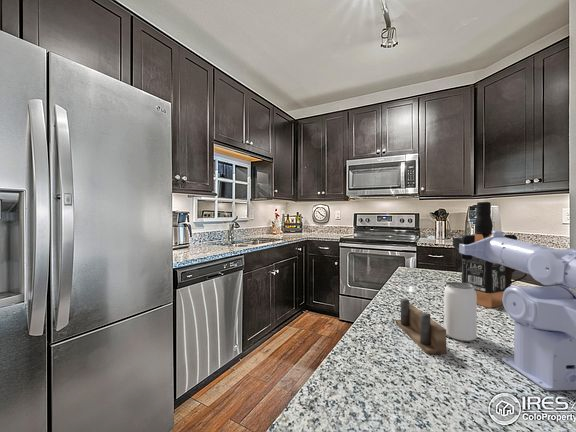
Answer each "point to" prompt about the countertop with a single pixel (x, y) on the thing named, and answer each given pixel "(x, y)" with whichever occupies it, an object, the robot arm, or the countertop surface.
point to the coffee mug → (509, 276)
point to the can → (460, 311)
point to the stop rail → (422, 329)
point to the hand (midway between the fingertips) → (469, 241)
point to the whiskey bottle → (485, 265)
